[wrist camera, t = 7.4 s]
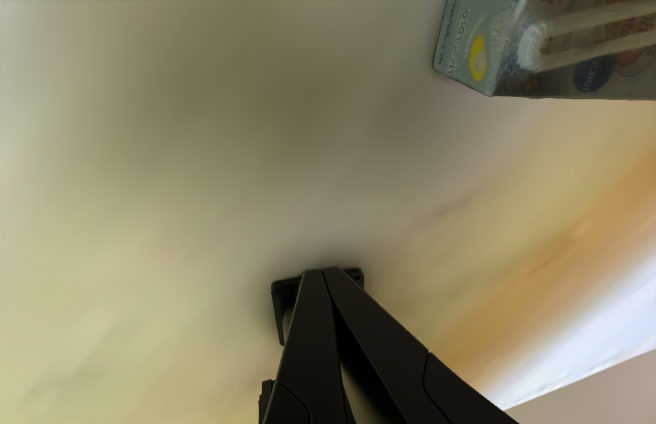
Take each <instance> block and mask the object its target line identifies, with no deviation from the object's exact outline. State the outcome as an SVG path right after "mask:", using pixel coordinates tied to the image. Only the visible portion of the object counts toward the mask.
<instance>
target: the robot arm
mask: <svg viewBox="0 0 656 424" xmlns="http://www.w3.org/2000/svg"><path fill="white" fill-rule="evenodd" d="M356 275H358V276H356ZM354 276H356V277H354ZM277 289H280V290H277ZM363 289H364V275H363V272H362V270H361V269H351V270H345V271H342V270H341V269H340V268H339V267H338V266H328V267H323V268H322V269H320V268H314V269H308V270H305V271H304V273H303V277H302V278H299V279H293V280H287V281H281V282H276V283H274V284H273V285H272V286H271V294H272V300H273V306H274V311H275V317H276V323H277V329H278V335H279V341H280V344H281V345H282V346H284V350H283V353H282V357H281V361H280V365H279V369H278V372H277V376H276V379H275V380H272V379H269V380H266V381H262V394H261V395H260V397H259V401H258V403H259V424H519V423H518V422H516V421H515V420H514V419H513V418H511V417H510V416H508V415H507V414H506V413H505V412H503V411H502V410H501V409H499V408H498V407H497V406H495V405H494V404H493V403H491V402H490V401H489V400H488V399H486V398H485V397H484V396H482V395H481V394H480V393H479V392H477V391H476V390H475V389H473V388H472V387H471V386H470V385H468V384H467V383H466V382H465V381H463V380H462V379H461V378H460V377H459V376H457V375H456V374H455V373H454V372H453V371H452V370H451V369H449V368H448V367H447V366H446V365H445V364H444V363H443V362H442V361H440V360H439V359H438V358H437V357H436V356H435V355H434V354H433V353H432V352H429V350H428V349H427V348H426V347H425V346H424V345H423V344H422V343H421V342H420V341H419V340H417V339H416V338H415V337H414V336H413V335H412V334H411V333H410V332H409V331H408V330H407V329H405V328H404V327H403V326H402V325H401V324H400V323H399V322H398V321H397V320H396V319H395V318H394V317H392V316H391V315H390V314H389V313H388V312H387V311H386V310H385V309H384V308H383V307H382V306H380V305H379V304H378V303H377V302H376V301H375V300H374V299H373V298H372V297H371V296H370V295H369V294H367V293H366V292H365V291H364V290H363Z"/></svg>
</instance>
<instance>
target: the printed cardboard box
mask: <svg viewBox="0 0 656 424" xmlns="http://www.w3.org/2000/svg"><path fill="white" fill-rule="evenodd" d="M434 69H435V70H436V71H438V72H441V73H443V74H445V76H447V77H449V78H451V79H453V80H455V81H458V82H460V83H462V84H464V85H466V86H467V87H469V88H471V89H473V90H475V91H478V92H480V93H482V94H483V95H485V96H489V97H492V96H510V97H525V98H530V99H541V98H557V99H605V100H654V101H656V0H447V4H446V8H445V12H444V17H443V21H442V26H441V31H440V35H439V39H438V43H437V48H436V53H435V59H434Z"/></svg>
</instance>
